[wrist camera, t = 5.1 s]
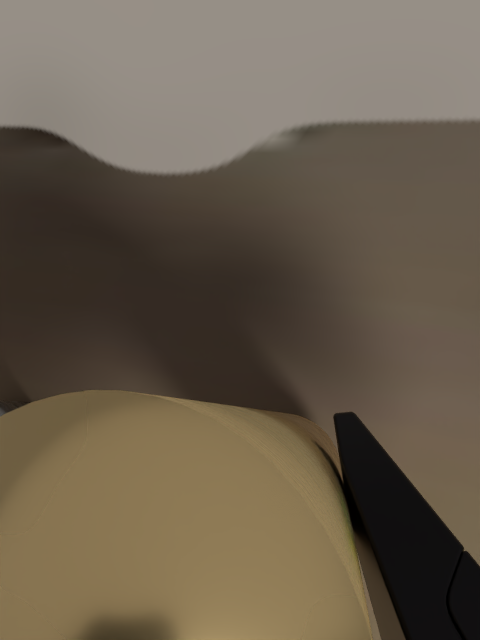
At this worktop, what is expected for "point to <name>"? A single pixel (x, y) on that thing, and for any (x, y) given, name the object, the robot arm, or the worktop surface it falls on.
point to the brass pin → (173, 523)
